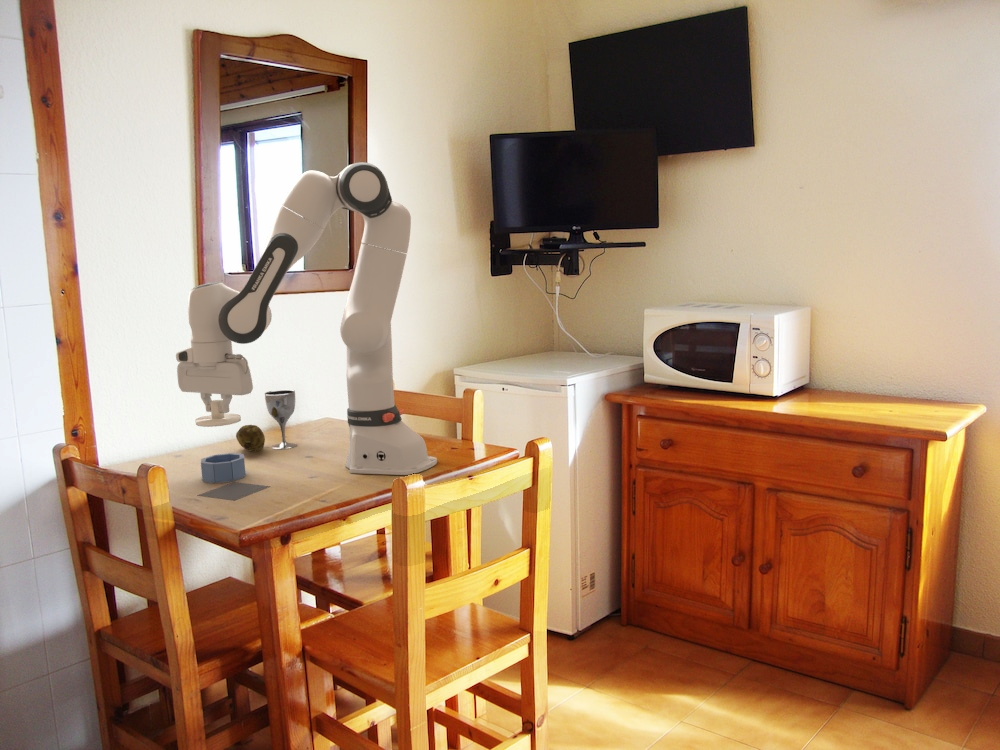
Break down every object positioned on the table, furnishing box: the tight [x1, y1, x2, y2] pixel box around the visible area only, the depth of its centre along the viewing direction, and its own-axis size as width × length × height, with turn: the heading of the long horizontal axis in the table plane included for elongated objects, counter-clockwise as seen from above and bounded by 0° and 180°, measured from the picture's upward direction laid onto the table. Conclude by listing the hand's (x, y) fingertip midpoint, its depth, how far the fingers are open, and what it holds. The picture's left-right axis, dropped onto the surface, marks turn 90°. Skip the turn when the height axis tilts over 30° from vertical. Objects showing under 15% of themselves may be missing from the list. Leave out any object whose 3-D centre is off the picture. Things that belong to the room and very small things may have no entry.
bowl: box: [200, 452, 247, 484], centre depth 196 cm, size 10×10×5 cm
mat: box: [197, 481, 271, 502], centre depth 184 cm, size 11×11×1 cm
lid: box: [194, 399, 242, 428], centre depth 194 cm, size 10×10×5 cm
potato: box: [235, 424, 266, 452], centre depth 222 cm, size 8×13×8 cm, turn 2°
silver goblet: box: [264, 389, 299, 450], centre depth 227 cm, size 8×8×15 cm
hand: (217, 412), depth 194 cm, fingers closed on lid, 3 cm apart
